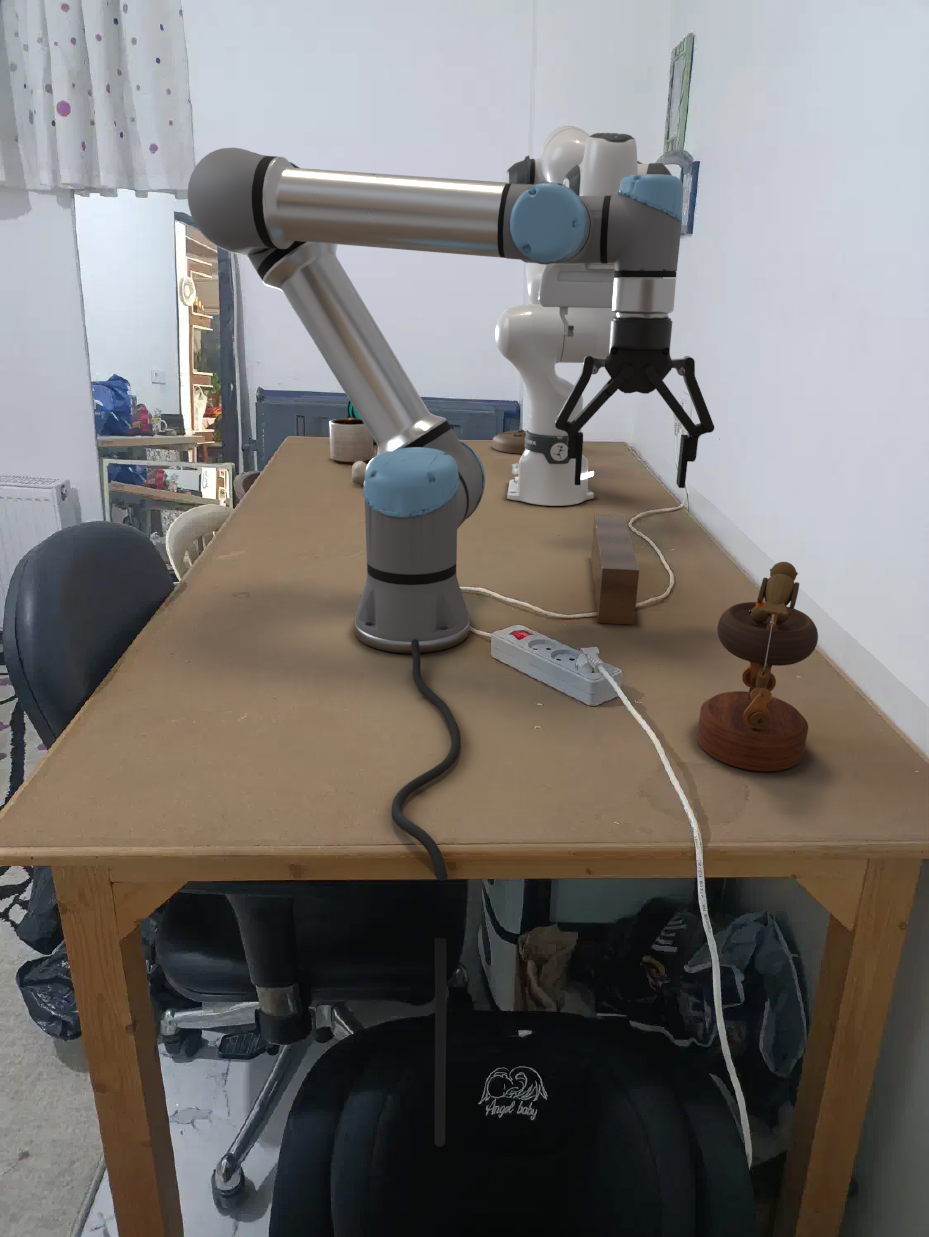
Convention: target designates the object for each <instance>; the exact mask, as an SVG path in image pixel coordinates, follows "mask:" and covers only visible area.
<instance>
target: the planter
mask: <svg viewBox="0 0 929 1237" xmlns="http://www.w3.org/2000/svg"><path fill="white" fill-rule="evenodd" d="M328 424H329V425H328V426H329V453H330V454H329V455H330V456H329V457H330V459H331V460H332V461H333V462H335V463H341V464H354V463H355V462H358V461H363V462H364V463H367V462H368V463H369V462H370V461H371V460H372V459H373V458H374V457H375V455H374V452H375V451H374V450H375V449H374V444H373V437H372V435H371V434H370V432H369V431H368V429H367V427H366V426H365V424H364V423H363V421H362V419H361V418H347V417H342V418H341V417H340V418H335V419H334V418H333V419H331V420H329V421H328Z"/></svg>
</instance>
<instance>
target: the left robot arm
mask: <svg viewBox="0 0 929 1237" xmlns="http://www.w3.org/2000/svg"><path fill="white" fill-rule="evenodd" d="M684 190H685V187H684V183H683V182H682V180H681V178H679V177H678V176H676V175H673V174H672V175H663V174H645V175H632V176H627V177H625V178H623V179H622V181H621V183H620V189H619V190H618V194H616V195H611V196H577V194H576V193H575V192H574V191H573V190H572V189H570V188H568V187H566V186H565V185H563V184H559V183H552V182H542V183H539V184H535V185H533V184H510V183H506V182H503V181H491V180H478V179H477V180H476V179H475V180H474V179H464V178H463V179H462V178H461V179H460V178H448V177H447V178H446V177H433V176H419V175H406V174H405V175H403V174H390V173H389V174H388V173H376V172H375V173H373V172H361V171H360V172H359V171H346V170H332V169H331V170H330V169H316V168H305V167H304V168H301V167H299V166H298V165H296V164H295V163H293V162H292V161H289V160H288V159H287V158H286V157H284V156H276V155H274V156H273V155H266V154H265V155H264V154H260V153H257V152H254V151H250V150H248V149H244V148H241V147H240V148H239V147H223V148H219V149H215V150H213V151H211V152H209V153H207V154H206V155H205V156H204V157H203V158H201V159H200V160H199V161H198V162H197V164H196V165H195V167H194V169H193V170H192V172H191V174H190V177H189V181H188V185H187V193H186V195H187V196H186V197H187V202H188V203H187V205H188V210H189V212H190V216H191V219H192V220H193V222H194V224H195V226H196V227H197V229H198V230H199V232H200V233H201V234H202V236H203V237H204V238H205V239H207V241H208V242H210V243H211V244H212V245H214V246H216V247H217V248H219V249H221V250H223V251H225V252H228V253H232V254H238V255H245V256H246V257H247V259H248V260H249V262H250V264H251V266H252V267H253V269H254V270H255V272H256V273H257V275H258V277H259V278H260V280H261V281H262V283H263V284H264V286H266V287H269V288H273V289H277V290H280V291H281V292H282V293H283V295H284V296H285V298H286V300H287V301H288V303H289V305H290V306H291V308H292V309H293V311H294V313H295V314H296V316H297V317H298V319H299V320H300V323H301V324H302V326H303V327H304V329H305V331H306V333H307V334H308V335H309V337H310V338H311V340H312V342H313V344H314V345H315V346H316V348H317V350H318V352H319V353H320V355H321V356H322V358H323V360H324V361H325V363H326V364H327V366H328V368H329V369H330V371H331V373H332V374H333V376H334V377H335V379H336V381H337V382H338V384H339V386H340V387H341V389H342V390H343V392H344V393H345V395H346V397H347V398H348V401H351V403H352V405H353V406H354V408H355V410H356V411H357V413H358V414H359V416H360V418H361V419H362V421H363V423H364V424H365V426H366V427H367V429H368V431H369V432H370V434H371V435H372V437H373V439H374V440H375V442H376V444H375V445H376V446H377V450H376V455H375V456H374V457H373V459H372V460H370V461H368V463H367V467H366V470H365V482H364V484H363V489H362V494H363V497H364V520H365V545H366V546H365V550H366V579H365V584H364V586H363V589H362V592H361V594H360V600H359V602H358V606H357V609H356V612H355V617H354V633H355V636H356V638H357V639H358V640H359V641H360V642H362V643H363V644H365V645H367V646H368V647H371V648H374V649H377V650H380V651H384V652H390V653H396V654H397V653H398V654H411V655H412V679H413V681H414V683H415V685H416V687H417V688H418V690H419V691H420V692H421V693H422V694H423V696H424V697H425V698H426V699H428V700H429V701H430V702H431V703H432V704H433V705H434V706H435V707H436V708H437V709H438V710H439V711H440V712H441V715H442V716H443V718H444V720H445V723H446V725H447V727H448V730H449V732H450V737H451V745H450V748H449V751H448V753H447V755H446V756H445V758H444V759H443V760H442V761H440V763H438V764H437V765H435V766H434V767H433V768H431V769H429V770H428V771H425V772H424V773H422V774H420V775H419V776H416V777H415V778H414V779H412V780H410V781H409V782H408V783H406V784H405V785H404V786H402V787H401V788H400V790H398V792H397V793H396V794H395V796H394V798H393V800H392V803H391V817H392V820H393V822H394V823H395V824H396V826H398V827H399V828H400V829H401V830H402V831H404V832H405V833H407V834H408V835H410V836H411V837H412V838H414V839H415V840H417V841H418V843H420V844H421V845H422V846H423V848H424V849H425V850H426V851H427V853H428V855H429V857H430V859H431V862H432V865H433V869H434V874H435V878H436V879H437V880H438V881H441V882H444V881H446V880H448V871H447V866H446V863H445V860H444V857H443V854H442V851H441V849H440V847H439V846H438V845H437V843H436V841H435V840H434V839H433V838H432V836H431V835H429V833H428V832H427V831H426V830H425V829H423V828H422V827H420V825H417V824H416V823H414V822H413V821H411V820H410V819H408V818H407V817H406V816H405V815H404V813H403V806H404V803H405V801H406V800H407V798H408V797H409V796H410V795H411V794H412V793H414V792H415V791H417V790H418V789H419V788H421V787H423V786H425V785H427V784H428V783H430V782H432V781H433V780H435V779H436V778H438V777H439V776H441V775H443V774H444V773H445V772H446V771H448V770H449V769H450V768H451V767H452V766H453V765H454V763H456V760H457V759H458V757H459V755H460V750H461V744H462V737H461V732H460V728H459V726H458V723H457V721H456V718H455V717H454V715H453V713H452V711H451V709H450V708H449V706H448V704H446V702H444V700H443V699H442V698H441V697H440V696H438V694H436V693H435V692H434V691H433V690H432V689H431V688H430V687H429V686H428V685H427V684H426V683H425V681H424V679H423V677H422V672H421V669H422V668H421V665H422V662H421V654H425V653H433V652H439V651H443V650H446V649H449V648H452V647H455V646H457V645H458V644H460V643H462V642H463V641H464V640H466V639H467V637H468V636H469V634H470V616H469V612H468V608H467V606H466V601H465V599H464V596H463V593H462V589H461V586H460V583H459V581H458V577H457V561H458V560H457V559H458V558H457V557H458V556H457V554H458V529H459V528H460V527H461V526H462V525H463V523H464V522H466V520H467V519H469V518H470V517H471V516H472V515H473V513H474V512H475V511H477V508H478V507H479V505H480V503H481V501H482V498H483V494H484V492H485V487H486V472H485V467H484V464H483V462H482V460H481V458H480V456H479V455H478V453H477V452H476V451H475V450H474V449H473V448H472V447H471V445H469V444H467V443H466V442H464V441H462V440H460V439H459V438H458V436H457V435H456V433H455V432H454V429H453V428H452V426H451V424H450V423H449V421H448V420H447V418H446V417H444V416H439V415H435V414H433V413H431V412H430V411H429V409H428V407H427V406H426V404H425V403H424V401H423V399H422V397H421V395H420V394H419V392H418V391H417V389H416V387H415V386H414V384H413V382H412V380H411V378H410V377H409V376H408V374H407V372H406V370H405V369H404V367H403V365H402V364H401V362H400V361H399V359H398V357H397V356H396V353H395V352H394V350H393V349H392V347H391V346H390V344H389V342H388V340H387V339H386V337H385V335H384V334H383V332H382V330H381V329H380V327H379V325H378V324H377V321H376V320H375V319H374V316H373V315H372V314H371V312H370V310H369V308H368V307H367V306H366V304H365V302H364V300H363V299H362V297H361V295H360V294H359V292H358V290H357V288H356V287H355V285H354V283H353V281H352V280H351V279H350V277H349V275H348V273H347V272H346V270H345V268H344V267H343V265H342V263H341V261H340V260H339V259H338V256H337V250H338V245H340V246H341V245H342V246H343V245H344V246H355V247H367V248H379V249H391V250H404V251H413V252H414V251H417V252H427V253H428V252H430V253H438V254H439V253H441V254H451V255H452V254H453V255H462V256H463V255H466V256H475V257H476V256H478V257H488V258H502V259H507V260H518V261H522V262H524V263H525V264H526V263H538V264H545V265H549V264H577V263H602V264H607V263H614V264H615V272H614V277H627V278H614V286H613V300H612V311H613V312H615V313H616V317H614V318H613V320H611V329H610V344H609V353H608V355H607V357H606V358H598V357H592V356H591V355H586V356H585V357H584V361H583V363H582V368H581V372H580V374H579V376H578V378H577V380H576V382H575V383H574V384H573V385H574V387H573V389H572V391H571V393H570V395H569V396H568V398H567V400H566V402H565V404H564V406H563V407H562V409H561V411H560V413H559V415H558V417H557V418H556V421H555V427H556V428H557V429H559V430H563V431H565V432H566V433H567V434H568V449H567V455H568V458H569V459H576V460H575V478H574V482H575V485H580V484H581V467H582V455H583V450H584V449H583V447H584V432H583V431H581V432H578V431H579V430H580V429H581V430H582V428H584V426H585V425H586V424H587V423H588V422H589V421H590V420H591V418H592V417H594V415H595V414H596V413H597V412H598V411H599V410H600V409H601V407H603V406H604V405H605V404H606V402H607V401H608V400H610V398H611V397H612V396H613V395H614V394H615V393H616V392H617V391H618V390H619V391H620V392H621V393H624V394H633V393H640V394H643V395H644V394H645V395H648V394H650V393H653V392H654V391H655V390H656V391H657V393H658V394H659V395H660V397H661V398H662V399H663V400H664V403H666V404H667V406H668V408H669V409H670V410H671V411H672V413H673V414H674V416H675V417H676V418H677V420H678V421H679V422H680V423H681V425H682V427H683V428H684V429H685V430H686V432H687V433H686V434H681V435H680V441H679V442H680V443H679V453H678V462H677V472H676V482H675V483H676V485H677V487H678V488H679V489H685V488H686V479H687V472H688V462H691V463H692V462H693V463H694V462H695V461H696V459H697V455H698V445H699V438H700V437H701V436H702V435H705V434H710V433H713V432H714V431H715V425H714V422H713V420H712V416H711V414H710V411H709V409H708V406H707V404H706V401H705V399H704V396H703V393H702V391H701V388H700V386H699V383H698V381H697V378H696V361H695V359H694V358H693V357H691V356H690V355H685V356H683V357H681V358H672V357H671V343H672V333H673V330H672V329H673V320H672V318H670V317H669V314H672V313H674V309H675V300H676V298H675V297H676V284H677V271H678V263H679V253H680V243H681V234H682V227H683V226H682V225H683V208H684ZM629 277H656V278H629ZM601 368H604V369H605V371H606V373H607V374H608V376H609V377H610V379H608V380H607V381H606V383H605V384H604V385H603V386H602V387H601V389H600V390H599V391H598V392H597V393H596V395H595V396H594V397H593V398H592V399H591V400H590V401H589V402H588V403H587V405H585V406H584V407H583V410H582V411H581V412H580V413H579V415H578V416H577V417H576V418H575V419H574V420H573V421H572V422H570V421H567V420H568V419H569V417H570V415H571V413H572V411H573V410H574V408H575V406H576V404H577V402H578V400H579V399H580V397H581V395H582V396H583V393H584V392H585V390H586V388H587V386H588V384H589V382H590V380H591V378H592V375H597V374H599V371H600V369H601ZM672 369H675V370H676V373H677V374H678V375H679V376H681V377H682V378H683V382H684V384H685V387H686V389H687V391H688V395H689V397H690V400H691V403H692V404H693V407H694V409H695V413H696V415H697V418H698V420H699V422H700V423H694V421H693V420H692V418H691V417H690V416H689V415H688V413H687V412H686V410H685V409H684V408H683V406H682V405H681V403H680V402H679V401H678V400H677V398H676V396H674V393H672V391H671V390H670V388H669V387H668V385H667V384H666V383H665V382H664V379H665V378H666V377H667V376H668V375H669V373H670V372H671V371H672ZM434 986H435V987H434V1017H435V1018H434V1032H435V1033H434V1144H435V1146H436V1147H439V1148H440V1147H443V1146H444V1145H445V1144H446V1083H447V1082H446V1079H447V1078H446V1077H447V1076H446V1074H447V1073H446V1072H447V1068H446V1067H447V938H444V937H434Z"/></svg>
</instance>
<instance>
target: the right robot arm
mask: <svg viewBox="0 0 929 1237" xmlns="http://www.w3.org/2000/svg"><path fill="white" fill-rule="evenodd" d="M637 148H638V147H637V140H636V138H634V136H632V135H630V134H627V133H617V132H596V133H593V134H591V135H590V134H589V133H588V132H587V131H585V130H584V129H582V128H580V127H576V126H574V125H561V126H559V127H556V128H554V129H553V130H552V131H550V132H549V133H548V134H547V135H546V136H545V137H544V140H543V141H542V144H541V148H540V152H539V158H531V157H530V155H526V156H525V157H524V159H523V160H520V161H518V162H515V163H513V164H512V165H511V166H510V167H509V168H508V169H507V170H506V174H505V176H504V178H503V180H502V182H506V183H510V184H533V185H535V184H539V183H542V182H552V183H559V184H563V185H565V186H566V187H568V188H570V189H572V190H573V191H574V192H575V193H576V194H577V196H611V195H616V194H618V190H619V189H620V183H621V181H622V179H623V178H625V177H627V176H632V175H645V174H663V175H672V176H673V174H672V173H671V171H670V170H669V169H668V167H667V166H666V165H665V164H664V163H662V162H650V163H643V162H640V161H639V160H638V149H637ZM614 272H615V264H614V263H607V264H602V263H577V264H549V265H545V264H538V263H526V262H525V274H526V285H527V286H526V287H527V293H528V294H527V295H528V298H529V300H530V302H531V303H527V304H521V305H516V306H512V307H507V308H505V310H504V311H503V312H501V314H500V315H499V317H498V319H497V322H496V325H495V329H494V340H495V344H496V347H497V348H498V351H499V352H500V353H501V355H502V357H504V358H505V359H506V360H507V361H509V362H510V363H511V364H512V365H513V367H515V368H516V370H517V372H518V373H519V374H520V377H521V378H522V381H523V382H524V385H525V389H526V395H527V410H528V411H527V412H528V416H527V417H528V418H527V420H528V421H527V430H525V431H526V436H525V445H524V446H525V451H524V453H523V454H521V456H520V459H519V460H518V462H515V463H511V475H518V476H514V478H512V479H510V480H509V483H508V489H507V495H506V499H508V500H510V501H511V500H512V501H519V502H523V503H526V504H527V503H528V504H531V505H538V506H549V507H550V506H551V507H557V506H558V507H559V506H560V507H561V506H573V505H579V504H580V503H583V502H585V501H587V500H592V499H594V498H595V493H594V492H593V491H591V490H589V488H588V487H589V484H588V483H589V478H591V477H594V475H595V471H594V470H592V471H589V460H588V459H587V458H586V456H584V454H582V467H581V484H580V485H575V482H574V478H575V460H576V459H569V458H568V455H567V449H568V434H567V433H566V432H565V431H563V430H559V429H557V428H556V427H555V421H556V418H557V417H558V415H559V413H560V411H561V409H562V407H563V406H564V404H565V402H566V400H567V398H568V396H569V395H570V393H571V391H572V389H573V387H574V385H575V384H573V383H572V382H570V381H568V380H566V379H565V378H563V377H561V376H559V375H558V374H557V372H556V364H559V363H562V364H563V363H564V364H565V363H566V364H567V363H568V364H570V363H571V364H583V361H584V357H585V356H586V355H591V356H592V357H598V358H606V357H607V355H608V353H609V344H610V329H611V320H613V318H614V317H616V313H615V312H613V311H612V300H613V286H614V278H627V277H614ZM629 278H656V277H629ZM583 409H584V397H583V394H582V395H581V397H580V399H579V400H578V402H577V404H576V406H575V408H574V410H573V411H572V413H571V415H570V417H569V419H568V420H567V421H570V422H572V421H573V420H574V419H575V418H576V417H577V416H578V415H579V413H580V412H581V411H582V410H583ZM578 432H582V428H581V429H580V430H579V431H578Z"/></svg>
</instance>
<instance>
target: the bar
mask: <svg viewBox="0 0 929 1237" xmlns="http://www.w3.org/2000/svg"><path fill="white" fill-rule="evenodd" d="M592 526H593V527H592V540H591V553H590V564H591V565H590V566H591V572H592V573H591V574H592V582H593V592H594V598H595V608H596V609H595V610H596V617H597V623H598V624H611V625H612V624H613V625H616V624H617V625H631V626H634V625H635V616H636V606H637V597H638V596H637V595H638V589H639V588H638V587H639V578H640V576H639V575H640V568H639V564H638V561H637V556H636V554H635V550H634V547H633V542H632V539H631V535H630V532H629V528H628V524H627V520H626V517H625V515H623V514H601V513H600V514H596V513H595V514H594V515H593V525H592Z"/></svg>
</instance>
